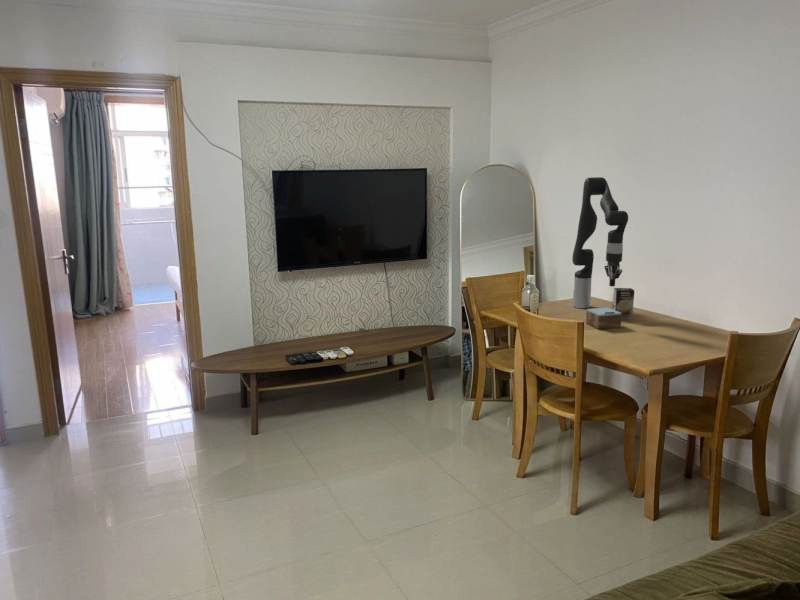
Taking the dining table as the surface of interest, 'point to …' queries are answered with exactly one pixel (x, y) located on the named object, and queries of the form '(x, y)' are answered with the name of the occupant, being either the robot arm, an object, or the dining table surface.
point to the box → (603, 321)
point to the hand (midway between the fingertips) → (612, 286)
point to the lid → (603, 311)
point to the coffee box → (623, 302)
